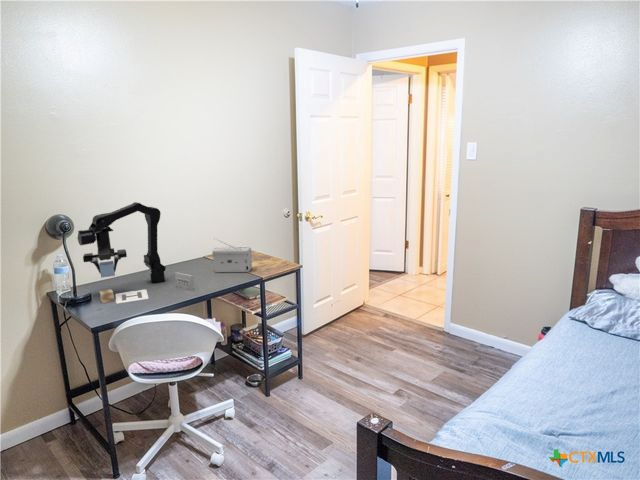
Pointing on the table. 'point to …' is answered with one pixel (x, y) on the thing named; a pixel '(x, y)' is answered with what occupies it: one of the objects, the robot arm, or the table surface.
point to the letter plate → (131, 296)
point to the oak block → (106, 296)
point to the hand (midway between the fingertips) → (107, 272)
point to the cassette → (183, 284)
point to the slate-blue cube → (107, 269)
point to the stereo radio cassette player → (232, 259)
